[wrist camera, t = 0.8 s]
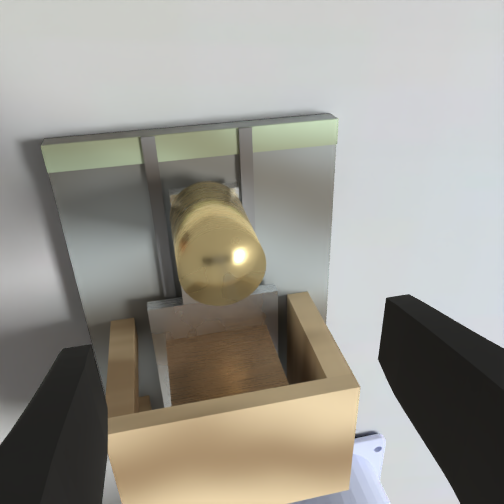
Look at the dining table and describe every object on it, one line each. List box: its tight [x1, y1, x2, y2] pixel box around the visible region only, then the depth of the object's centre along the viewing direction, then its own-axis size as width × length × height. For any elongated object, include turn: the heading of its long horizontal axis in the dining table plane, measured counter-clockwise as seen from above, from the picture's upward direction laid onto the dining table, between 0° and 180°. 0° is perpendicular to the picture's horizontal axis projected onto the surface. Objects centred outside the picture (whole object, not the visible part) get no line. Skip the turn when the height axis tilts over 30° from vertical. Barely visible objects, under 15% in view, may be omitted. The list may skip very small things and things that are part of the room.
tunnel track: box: [41, 113, 360, 504], centre depth 20 cm, size 18×11×7 cm, turn 2°
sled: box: [147, 181, 289, 408], centre depth 20 cm, size 13×6×5 cm, turn 2°
